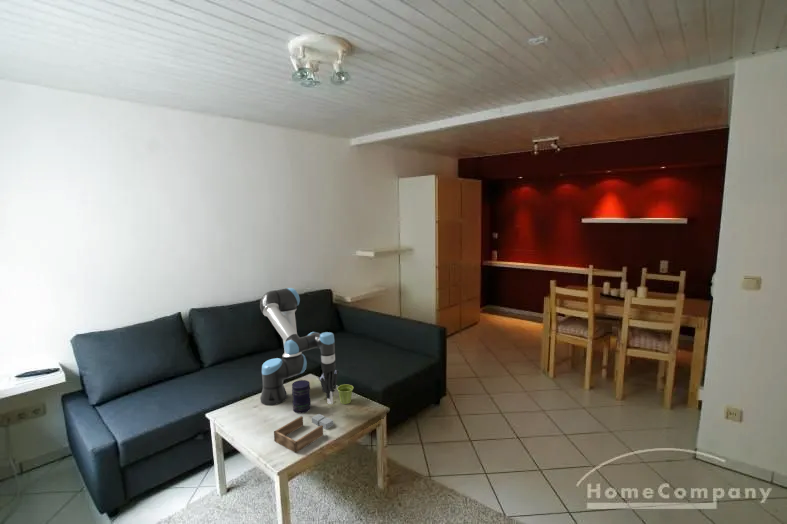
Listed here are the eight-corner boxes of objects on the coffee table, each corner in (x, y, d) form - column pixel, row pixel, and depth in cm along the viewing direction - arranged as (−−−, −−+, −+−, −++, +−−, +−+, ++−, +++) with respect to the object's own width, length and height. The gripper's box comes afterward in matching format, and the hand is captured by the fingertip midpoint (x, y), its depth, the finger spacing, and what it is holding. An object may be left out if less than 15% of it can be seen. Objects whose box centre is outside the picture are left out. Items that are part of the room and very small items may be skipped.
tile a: (311, 422, 197) (311, 417, 197) (319, 418, 201) (318, 413, 201) (317, 426, 194) (317, 420, 194) (325, 422, 198) (325, 416, 197)
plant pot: (355, 398, 223) (354, 384, 221) (351, 406, 213) (351, 391, 212) (339, 397, 223) (339, 384, 222) (335, 405, 214) (335, 391, 213)
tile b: (319, 426, 194) (319, 421, 193) (326, 422, 197) (326, 417, 197) (325, 429, 190) (325, 424, 190) (333, 425, 194) (333, 420, 194)
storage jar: (302, 415, 204) (301, 389, 203) (289, 410, 209) (287, 385, 207) (314, 406, 213) (313, 382, 211) (301, 403, 218) (300, 378, 216)
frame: (274, 441, 181) (273, 431, 181) (301, 425, 195) (301, 416, 194) (295, 453, 172) (295, 442, 171) (323, 435, 185) (322, 425, 185)
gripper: (324, 367, 193) (326, 410, 196) (341, 359, 203) (343, 400, 206) (314, 364, 197) (316, 406, 200) (331, 356, 208) (333, 396, 210)
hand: (330, 403), depth 203 cm, fingers closed
